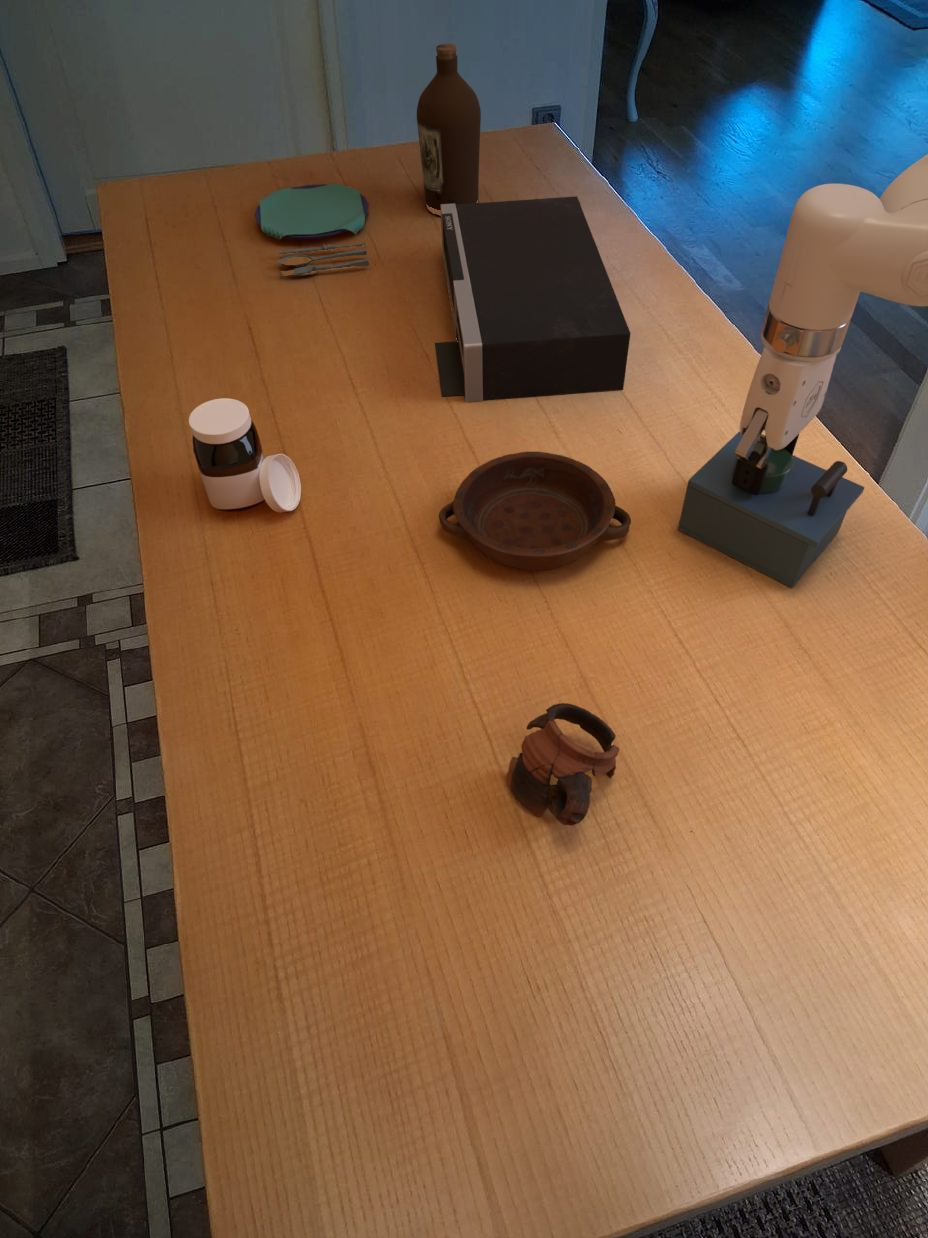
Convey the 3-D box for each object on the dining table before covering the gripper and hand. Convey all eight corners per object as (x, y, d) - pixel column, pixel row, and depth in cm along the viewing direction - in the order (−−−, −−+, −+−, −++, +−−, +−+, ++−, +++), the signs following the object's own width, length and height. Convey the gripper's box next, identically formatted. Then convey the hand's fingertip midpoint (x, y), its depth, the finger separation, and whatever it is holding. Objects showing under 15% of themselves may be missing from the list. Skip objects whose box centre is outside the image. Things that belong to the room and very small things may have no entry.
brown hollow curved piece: (491, 751, 86) (527, 686, 82) (576, 770, 89) (614, 708, 86) (516, 847, 76) (559, 778, 73) (611, 864, 80) (656, 799, 76)
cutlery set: (364, 189, 164) (363, 176, 163) (382, 270, 145) (381, 257, 143) (255, 200, 163) (253, 187, 161) (258, 284, 143) (255, 270, 142)
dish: (443, 481, 111) (441, 449, 107) (621, 481, 110) (626, 449, 107) (435, 584, 100) (433, 553, 96) (634, 586, 99) (640, 554, 95)
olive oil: (461, 187, 164) (457, 30, 145) (493, 208, 158) (493, 48, 139) (411, 202, 161) (400, 43, 142) (441, 225, 155) (434, 63, 136)
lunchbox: (837, 533, 104) (855, 489, 98) (791, 588, 98) (808, 544, 93) (726, 481, 110) (737, 436, 105) (677, 529, 105) (687, 485, 100)
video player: (623, 390, 123) (630, 332, 116) (442, 404, 122) (439, 347, 115) (572, 247, 149) (576, 194, 142) (423, 258, 147) (420, 204, 141)
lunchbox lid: (862, 492, 98) (877, 456, 94) (815, 548, 93) (829, 512, 89) (737, 436, 105) (747, 400, 101) (687, 485, 99) (695, 449, 96)
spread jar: (206, 473, 113) (182, 395, 104) (295, 457, 115) (279, 380, 106) (213, 537, 106) (187, 459, 97) (308, 519, 107) (291, 441, 98)
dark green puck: (781, 458, 101) (787, 440, 99) (792, 494, 97) (798, 476, 95) (727, 458, 101) (732, 440, 99) (736, 493, 97) (741, 476, 95)
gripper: (798, 382, 79) (752, 530, 93) (881, 301, 88) (828, 448, 101) (723, 352, 82) (689, 499, 96) (810, 277, 91) (768, 422, 104)
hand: (761, 471), depth 99 cm, fingers closed on dark green puck, 6 cm apart
